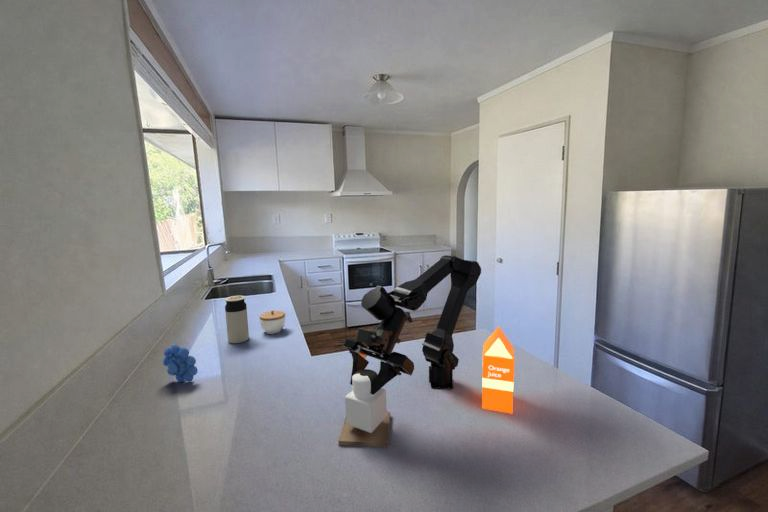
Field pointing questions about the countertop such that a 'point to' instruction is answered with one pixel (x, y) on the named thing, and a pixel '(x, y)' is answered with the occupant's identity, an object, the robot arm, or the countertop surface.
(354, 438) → the walnut board
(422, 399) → the countertop surface
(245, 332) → the travel mug
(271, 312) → the lidded jar
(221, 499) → the countertop surface
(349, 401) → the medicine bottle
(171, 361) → the grapes
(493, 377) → the orange juice
